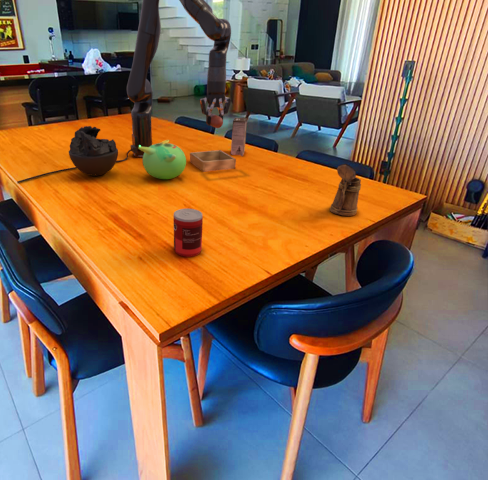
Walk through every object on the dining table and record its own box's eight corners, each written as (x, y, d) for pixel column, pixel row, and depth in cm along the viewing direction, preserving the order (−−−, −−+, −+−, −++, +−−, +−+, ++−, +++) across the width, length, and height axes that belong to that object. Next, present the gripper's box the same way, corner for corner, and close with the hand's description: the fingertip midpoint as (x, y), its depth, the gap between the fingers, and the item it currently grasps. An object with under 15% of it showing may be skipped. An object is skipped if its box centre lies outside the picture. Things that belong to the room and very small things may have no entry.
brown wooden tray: (202, 173, 167) (203, 162, 164) (189, 162, 180) (189, 152, 177) (235, 169, 172) (236, 159, 169) (220, 160, 184) (220, 150, 182)
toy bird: (191, 174, 165) (191, 138, 156) (177, 187, 152) (177, 148, 143) (152, 170, 169) (150, 135, 161) (136, 182, 156) (133, 144, 148)
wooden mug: (319, 215, 129) (331, 160, 119) (336, 204, 138) (348, 152, 127) (345, 222, 125) (359, 166, 114) (360, 210, 133) (375, 157, 123)
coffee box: (232, 151, 198) (234, 117, 189) (244, 151, 197) (247, 117, 188) (230, 155, 191) (232, 120, 182) (243, 156, 190) (246, 121, 181)
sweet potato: (224, 128, 162) (225, 117, 159) (214, 129, 161) (215, 117, 158) (214, 123, 170) (214, 112, 168) (204, 124, 169) (204, 113, 166)
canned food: (184, 242, 112) (184, 206, 106) (207, 249, 109) (208, 212, 102) (168, 252, 107) (167, 214, 101) (191, 260, 103) (192, 222, 97)
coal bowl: (102, 165, 175) (97, 120, 165) (129, 175, 164) (125, 127, 153) (63, 174, 164) (55, 127, 153) (89, 185, 152) (82, 135, 141)
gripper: (228, 78, 160) (225, 122, 170) (196, 78, 156) (195, 124, 166) (236, 80, 154) (233, 125, 164) (203, 80, 150) (202, 127, 160)
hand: (214, 124), depth 165 cm, fingers closed on sweet potato, 4 cm apart
